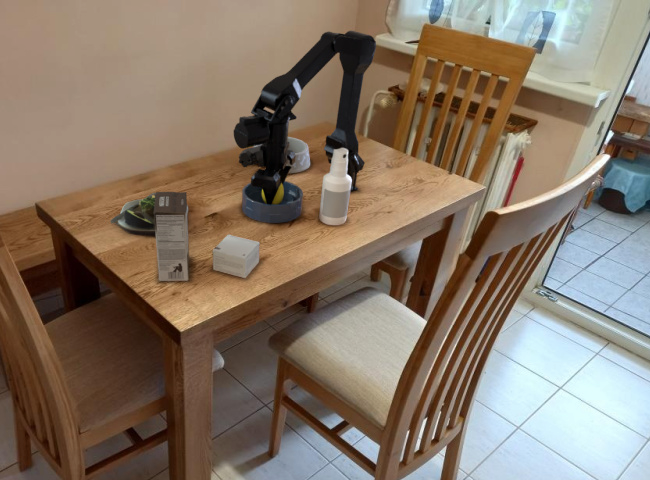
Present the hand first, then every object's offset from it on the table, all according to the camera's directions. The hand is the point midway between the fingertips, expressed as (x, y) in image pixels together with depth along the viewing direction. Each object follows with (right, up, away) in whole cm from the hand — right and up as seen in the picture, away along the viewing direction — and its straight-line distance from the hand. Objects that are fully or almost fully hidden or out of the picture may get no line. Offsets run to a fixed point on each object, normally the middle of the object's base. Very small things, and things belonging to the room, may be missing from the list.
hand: (272, 199), depth 146 cm
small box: (-8, -18, -20) cm, 29 cm away
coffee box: (-22, -19, -22) cm, 37 cm away
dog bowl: (+3, +16, +27) cm, 32 cm away
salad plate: (-29, -6, -5) cm, 30 cm away
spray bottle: (+15, -5, -1) cm, 16 cm away
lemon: (0, -2, +1) cm, 2 cm away
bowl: (0, -2, +2) cm, 3 cm away
